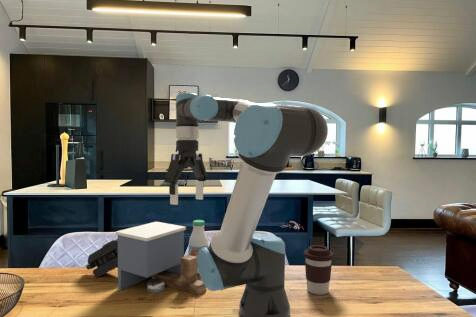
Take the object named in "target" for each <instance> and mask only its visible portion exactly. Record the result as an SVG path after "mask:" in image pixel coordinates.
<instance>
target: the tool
mask: <svg viewBox="0 0 476 317" xmlns="http://www.w3.org/2000/svg"><path fill="white" fill-rule="evenodd" d="M86 262H87V265H86V266H85V268H86V270H88V271H89V270H92V269H93V270H92V274H93V276H94V277H95V278H99V277H101V276H103V275H105V274H107V273H109V272H111V271H112V270H115V269H116V268H117V269H118V238H116V239H112V240H110V241H108V242H107V243H104V244H103V245H102V246H101V247H100V248H99V249H97V250H96V251H94V252H92V253H91V254H89V255H88V257H87V261H86Z"/></svg>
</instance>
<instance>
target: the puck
mask: <svg viewBox="0 0 476 317" xmlns="http://www.w3.org/2000/svg"><path fill="white" fill-rule="evenodd" d="M165 290H166V285H165V281H164V280H163V279H152V278H151V279H149V280H148V281H147V282H146V292H147V293H150V294H159V293H163V292H164V291H165Z"/></svg>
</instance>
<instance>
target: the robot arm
mask: <svg viewBox="0 0 476 317" xmlns="http://www.w3.org/2000/svg"><path fill="white" fill-rule="evenodd" d="M175 111H176V112H175V120H176V121H175V124H176V125H175V126H176V128H175V130H176V131H175V133H176V139H177V140H176V141H175V142H176V143H175V144H176V145H175V148H176V149H175V150H176V151H177V152H178V153H172V154H171V155H170V163H169V166H168V168H167V171H166V175H165V178H164V181H163V182H164V183H165V184H166V185H168V190H169V192H168V193H169V197H170V198H169V204H170V205H175V206H178V205H179V184H177V183H178V181H179V180H180V177H181V175H182V173H183V171H184V170H185V169H187V168H190V169H191V171H192V173H193V175H194V176H195V178H196V181H195V200H204V182H207V179H208V173H207V171H206V167H205V164H204V161H203V153H197V152H198V151H199V140H198V139H199V121H206V122H207V121H208V122H229V123H235V126H234V129H233V135H234V138H233V143H234V147H235V149H236V150H237V152H238V153H237V155H238V158H239V160H240V161H241V165H240V167H239V170H238V174H237V176H236V177H237V178H236V179H235V182H234V186H233V190H232V192H231V195H230V198H229V199H230V200H229V202H228V204H227V208H226V212H225V214H224V216H223V220H222V223H221V228H220V230H219V231H218V232H217V233H215V234H214V235H213V236H212V238H211V240H210V243H209V245H208V247H207V248H206V247H204V248H202V249H200V250H199V252H198V256H197V263H198V269H199V274H198V275H199V276H200V279H201V281H202V282H203V284H204V285H205V287H206V290H209V291H210V292H216V291H224V290H227V289H231V288H235V287H238V286H239V287H240V286H245V287H244V290H243V293H242V296H241V298H240V301H239V305H238V306H239V309H238V310H239V312H238V314H239V315H240V316H241V317H290V315H291V304H290V302H289V299H288V296H287V291H286V288H285V282H286V281H285V278H286V277H285V272H286V269H285V267H286V254H287V253H286V243H285V241H284V240H283V239H282V238H281V237H279V236H276V235H272V234H267V233H258V232H256V229H257V226H258V224H259V220H260V218H261V215H262V213H263V210H264V208H265V206H266V202H267V200H268V197H269V194H270V191H271V188H272V186H273V183H274V180H275V178H276V175H278V174H280V173H282V172H284V171H285V170H286V168H287V165H288V162H289V160H290V158H291V157H304V156H309V155H312V154H314V153H316V152H318V151H319V150H320V149H321V148H322V147H323V146H324V144H325V142H326V140H327V139H328V133H329V130H328V129H329V127H328V124H327V121H326V119H325V117H324V116H323V114H322V113H321V112H319V111H318V110H316V109H315V108H312V107H308V106H298V105H286V104H276V103H271V102H266V103H256V102H251V101H249V100H247V99H246V100H245V99H240V98H239V99H235V98H222V97H215V96H214V97H213V96H212V95H210V94H200V95H198V94H197V93H193V92H183V93H182V92H181V93H178V94H177V95H176V100H175ZM255 232H256V233H255Z"/></svg>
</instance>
